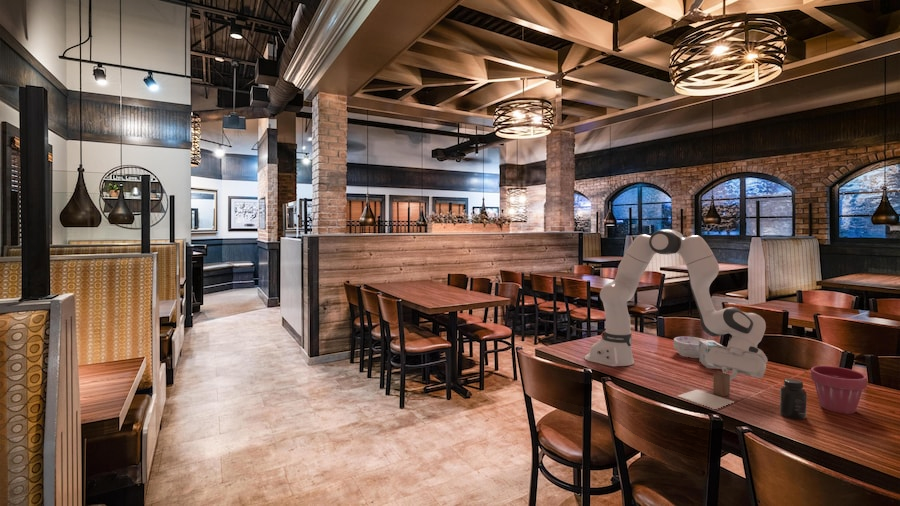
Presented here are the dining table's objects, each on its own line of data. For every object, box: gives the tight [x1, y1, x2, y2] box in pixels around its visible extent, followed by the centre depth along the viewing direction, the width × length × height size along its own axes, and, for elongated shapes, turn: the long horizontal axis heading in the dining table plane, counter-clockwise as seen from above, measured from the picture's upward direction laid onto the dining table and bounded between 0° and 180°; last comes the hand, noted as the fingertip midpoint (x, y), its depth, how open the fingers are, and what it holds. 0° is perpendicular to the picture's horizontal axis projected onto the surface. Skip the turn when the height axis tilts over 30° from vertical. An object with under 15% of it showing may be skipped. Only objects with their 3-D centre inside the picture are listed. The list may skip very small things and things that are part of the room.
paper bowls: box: [673, 336, 705, 359], centre depth 208 cm, size 15×15×8 cm
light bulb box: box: [698, 339, 724, 370], centre depth 193 cm, size 11×7×11 cm, turn 168°
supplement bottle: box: [779, 378, 808, 421], centre depth 139 cm, size 7×7×12 cm
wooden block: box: [712, 371, 731, 398], centre depth 159 cm, size 4×4×8 cm
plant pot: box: [810, 365, 868, 415], centre depth 144 cm, size 14×14×13 cm
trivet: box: [676, 389, 735, 410], centre depth 154 cm, size 12×14×1 cm
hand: (725, 379), depth 160 cm, fingers closed
